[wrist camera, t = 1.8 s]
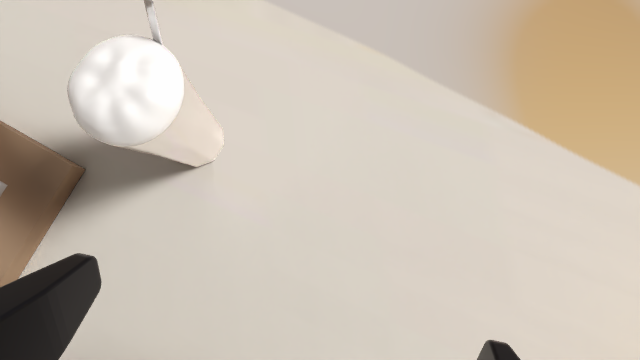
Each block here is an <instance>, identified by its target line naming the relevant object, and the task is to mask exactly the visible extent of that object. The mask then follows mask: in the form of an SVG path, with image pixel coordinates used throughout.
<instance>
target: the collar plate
mask: <svg viewBox="0 0 640 360" xmlns="http://www.w3.org/2000/svg"><path fill="white" fill-rule="evenodd" d="M84 171H85V169H84V168H82V167H80V166H79V165H77V164H75V163H73V162H72V161H70V160H68V159H66V158H65V157H63V156H61V155H59V154H58V153H56V152H54V151H52V150H51V149H49V148H47V147H46V146H44V145H42V144H40V143H39V142H37V141H35V140H33V139H32V138H30V137H28V136H26V135H25V134H23V133H21V132H19V131H18V130H16V129H14V128H12V127H11V126H9V125H7V124H5V123H4V122H2V121H0V287H2V286H4V285H6V284H8V283H11V282H13V281H15V280H17V279H18V278H19V276H20V274H21V273H22V271H23V270H24V268H25V266H26V265H27V263H28V261H29V260H30V258H31V257H32V255H33V253H34V252H35V250H36V249H37V247H38V245H39V244H40V242H41V240H42V239H43V237H44V236H45V234H46V232H47V231H48V229H49V228H50V226H51V224H52V223H53V221H54V219H55V218H56V216H57V215H58V213H59V211H60V210H61V208H62V206H63V205H64V203H65V202H66V200H67V198H68V197H69V195H70V194H71V192H72V190H73V189H74V187H75V185H76V184H77V182H78V181H79V179H80V177H81V176H82V174H83V173H84Z"/></svg>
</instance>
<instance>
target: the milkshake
mask: <svg viewBox="0 0 640 360" xmlns="http://www.w3.org/2000/svg"><path fill="white" fill-rule="evenodd" d="M144 3H145V7H146V11H147V15H148V20H149V24H150V28H151V32H152V36H153V40H152V39H150V38H147V37H144V36H140V35H132V34H129V35H120V36H116V37H113V38H110V39H107V40H105V41H103V42H101V43H99V44H97V45H96V46H94V47H93V48H92V49H91V50H90V51H89V52H88V53H87V54H86V55H85V56H84V57H83V58H82V60H81V61H80V62H79V63H78V65H77V66H76V67H75V69H74V70H73V72H72V74H71V76H70V79H69V82H68V88H67V91H68V98H69V102H70V105H71V108H72V111H73V114H74V117H75V119H76V121H77V123H78V124H79V126H80V127H81V128H82V129H83V130H84V131H85V132H86V133H88V134H89V135H90V136H92V137H93V138H95V139H96V140H98V141H100V142H103V143H105V144H108V145H112V146H116V147H120V148H125V149H129V150H133V151H138V152H142V153H147V154H153V155H156V156H159V157H163V158H166V159H169V160H173V161H176V162H179V163H183V164H187V165H191V166H195V167H199V166H202V165H204V164H207V163H209V162H212V161H214V160H215V158H216V157H217V156H218V154H219V153H220V151H221V150H222V148H223V147H224V133H223V128H222V126H221V125H220V124H219V122H218V121H217V120H216V118H215V117H214V116H213V114H212V113H211V111H210V110H209V109H208V107H207V106H206V105H205V103H204V102H203V101H202V99H201V98H200V96H199V95H198V93H197V91H196V90H195V88H194V86H193V85H192V83H191V82H190V80H189V79H188V77H187V75H186V74H185V72H184V71H183V69H182V68H181V66H180V65H179V63H178V61H177V59H176V58H175V56H174V55H173V54H172V53H171V52H170V51H169V50H168V49H167V48H166V47H164V46H163V42H162V38H161V33H160V29H159V24H158V20H157V15H156V11H155V7H154V3H153V1H152V0H144Z"/></svg>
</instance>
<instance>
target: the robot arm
mask: <svg viewBox="0 0 640 360" xmlns="http://www.w3.org/2000/svg"><path fill="white" fill-rule="evenodd" d="M100 288H101V277H100V272H99V267H98V262H97V259H96V258H95V257H94V256H90V255H86V254H81V253H77V254H74V255H71V256H69V257H67V258H65V259H62V260H60V261H58V262H56V263H53V264H51V265H49V266H47V267H44V268H42V269H40V270H38V271H35V272H33V273H31V274H29V275H26V276H24V277H22V278H20V279H17V280H15V281H13V282H11V283H8V284H6V285H4V286H2V287H0V360H59V358H60V357H61V355H62V354H63V352H64V351H65V349H66V348H67V346H68V344H69V343H70V341H71V340H72V338H73V336H74V334H75V333H76V331H77V329H78V327H79V326H80V324H81V322H82V321H83V319H84V317H85V315H86V314H87V312H88V310H89V309H90V307H91V305H92V303H93V302H94V300H95V298H96V296H97V295H98V293H99V291H100ZM477 360H520V358H519V357H518V356H517V355H516V353H515V352H514V351H513V349H512V348H511V347H510V346H509V345H508V344H506V343H504V342H499V341H494V340H487V341H486V342H485V344H484V346H483V348H482V350H481V352H480V354H479V356H478V358H477Z"/></svg>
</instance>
